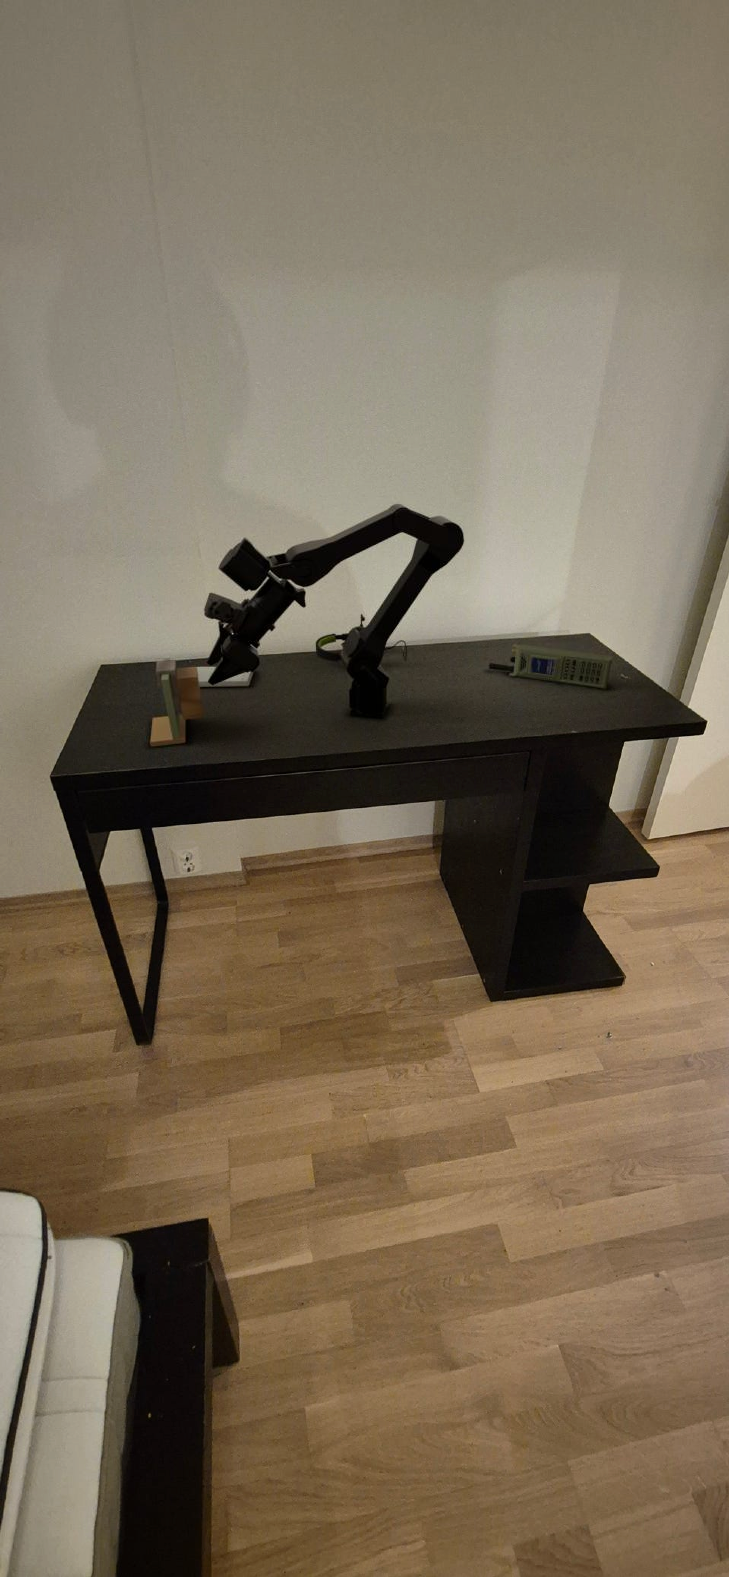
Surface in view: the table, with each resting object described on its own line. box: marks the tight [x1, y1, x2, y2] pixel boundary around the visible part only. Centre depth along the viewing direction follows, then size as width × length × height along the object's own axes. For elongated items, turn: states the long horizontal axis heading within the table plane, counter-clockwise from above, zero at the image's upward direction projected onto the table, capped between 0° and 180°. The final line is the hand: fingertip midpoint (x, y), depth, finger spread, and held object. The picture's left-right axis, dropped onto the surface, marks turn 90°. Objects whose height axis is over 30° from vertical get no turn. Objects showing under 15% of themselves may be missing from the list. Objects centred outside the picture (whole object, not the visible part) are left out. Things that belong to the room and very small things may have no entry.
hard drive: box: [196, 666, 254, 688], centre depth 143 cm, size 2×8×12 cm
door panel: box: [149, 658, 187, 747], centre depth 119 cm, size 6×10×12 cm, turn 13°
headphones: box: [315, 613, 408, 663], centre depth 149 cm, size 16×10×20 cm
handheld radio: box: [488, 643, 613, 690], centre depth 140 cm, size 7×3×25 cm
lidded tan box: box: [155, 659, 204, 720], centre depth 119 cm, size 7×5×10 cm
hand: (209, 673), depth 118 cm, fingers open, 9 cm apart
